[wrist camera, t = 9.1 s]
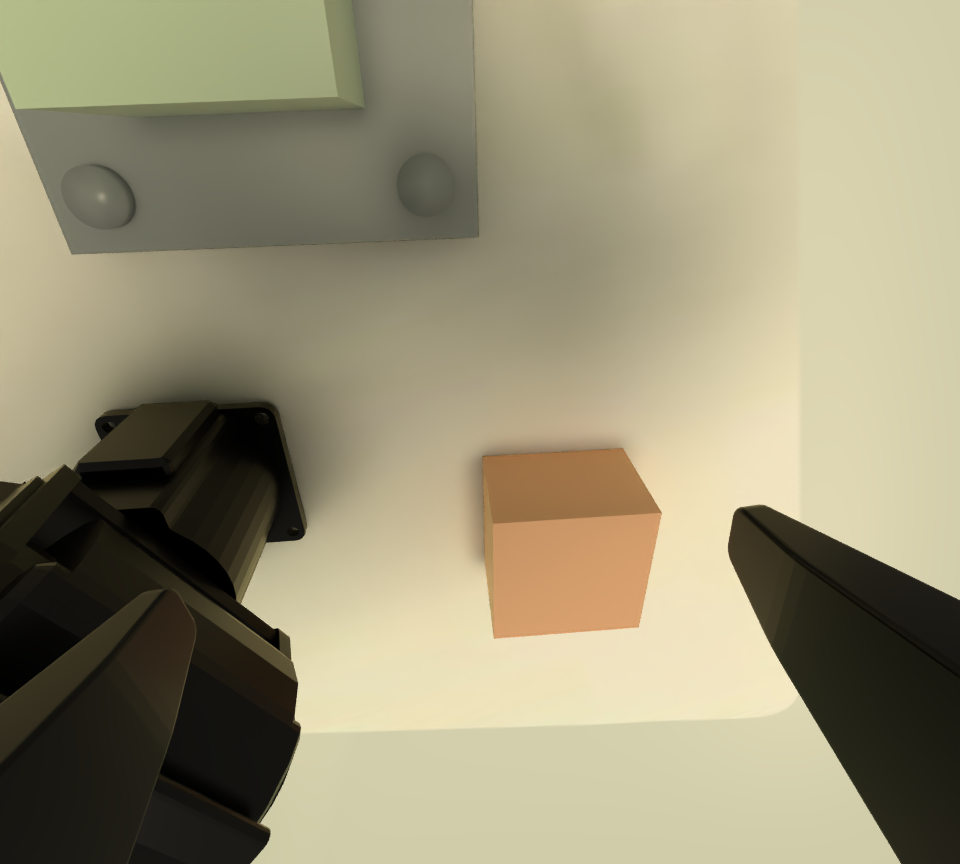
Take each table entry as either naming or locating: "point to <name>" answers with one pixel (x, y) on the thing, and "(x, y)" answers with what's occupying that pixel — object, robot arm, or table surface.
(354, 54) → the sage brick
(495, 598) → the terracotta brick
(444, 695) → the table surface
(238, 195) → the baseplate
